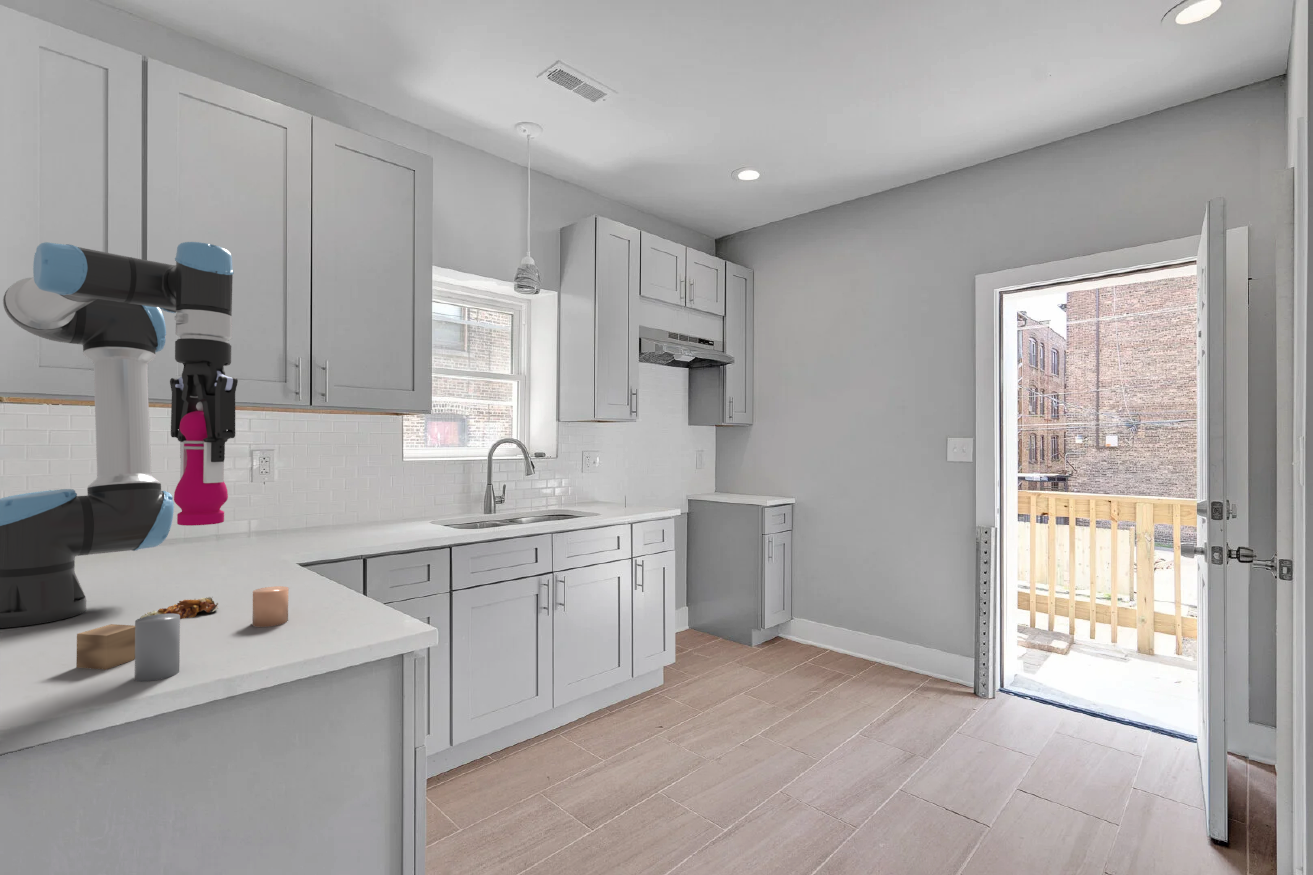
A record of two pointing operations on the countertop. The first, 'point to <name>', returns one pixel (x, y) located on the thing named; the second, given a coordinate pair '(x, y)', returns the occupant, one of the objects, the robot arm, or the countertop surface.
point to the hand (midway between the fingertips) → (201, 481)
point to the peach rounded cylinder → (270, 606)
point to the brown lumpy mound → (187, 608)
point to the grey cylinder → (157, 647)
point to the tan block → (106, 646)
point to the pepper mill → (197, 478)
